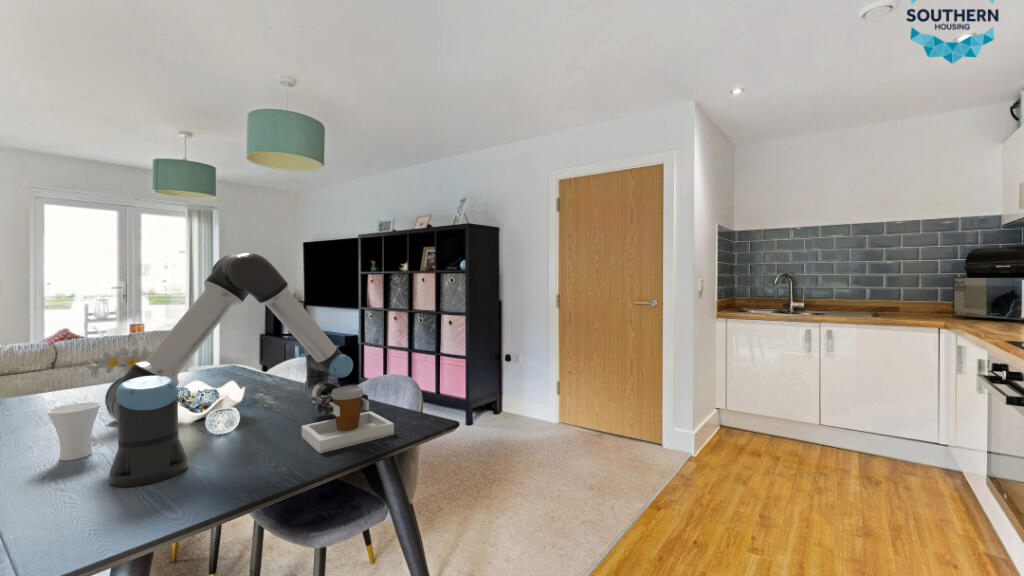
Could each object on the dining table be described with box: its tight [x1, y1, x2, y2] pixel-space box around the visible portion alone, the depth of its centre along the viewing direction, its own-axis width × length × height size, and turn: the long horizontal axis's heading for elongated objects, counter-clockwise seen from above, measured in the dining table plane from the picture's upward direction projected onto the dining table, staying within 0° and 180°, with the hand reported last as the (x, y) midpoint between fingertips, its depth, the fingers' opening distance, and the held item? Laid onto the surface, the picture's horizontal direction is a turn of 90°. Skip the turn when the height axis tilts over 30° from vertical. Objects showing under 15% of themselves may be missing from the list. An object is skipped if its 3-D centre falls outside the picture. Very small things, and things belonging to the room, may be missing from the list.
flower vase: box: [85, 345, 152, 423], centre depth 153 cm, size 13×18×25 cm
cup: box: [46, 401, 101, 462], centre depth 122 cm, size 10×10×14 cm
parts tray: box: [301, 410, 395, 454], centre depth 136 cm, size 22×17×4 cm
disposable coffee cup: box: [331, 385, 365, 431], centre depth 136 cm, size 10×10×12 cm
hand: (353, 408), depth 133 cm, fingers closed on disposable coffee cup, 8 cm apart
